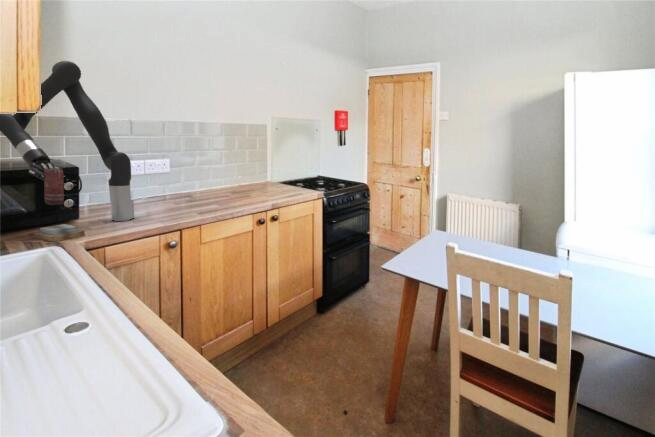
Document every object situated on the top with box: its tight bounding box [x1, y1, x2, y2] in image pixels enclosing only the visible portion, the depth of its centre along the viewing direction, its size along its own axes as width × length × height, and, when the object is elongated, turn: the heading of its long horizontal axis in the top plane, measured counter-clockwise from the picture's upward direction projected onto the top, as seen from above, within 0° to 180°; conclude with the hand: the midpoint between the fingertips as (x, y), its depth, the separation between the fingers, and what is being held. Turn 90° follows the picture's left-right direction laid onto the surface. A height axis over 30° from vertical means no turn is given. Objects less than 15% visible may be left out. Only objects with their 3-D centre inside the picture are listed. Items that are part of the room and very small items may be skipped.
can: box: [43, 168, 65, 206], centre depth 148 cm, size 6×6×14 cm
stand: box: [33, 223, 86, 242], centre depth 150 cm, size 12×12×4 cm
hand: (59, 186), depth 148 cm, fingers closed
